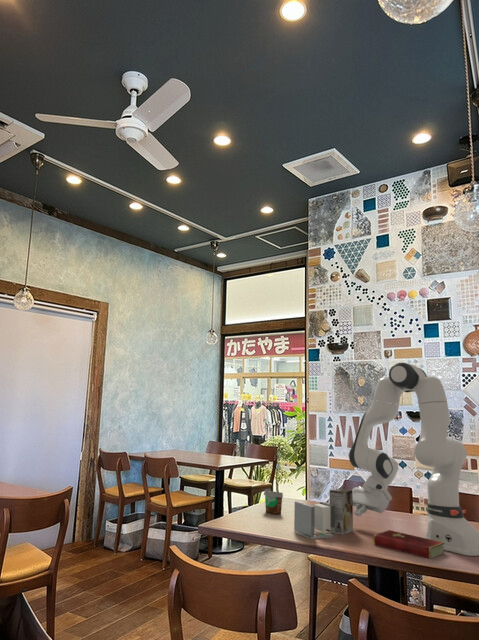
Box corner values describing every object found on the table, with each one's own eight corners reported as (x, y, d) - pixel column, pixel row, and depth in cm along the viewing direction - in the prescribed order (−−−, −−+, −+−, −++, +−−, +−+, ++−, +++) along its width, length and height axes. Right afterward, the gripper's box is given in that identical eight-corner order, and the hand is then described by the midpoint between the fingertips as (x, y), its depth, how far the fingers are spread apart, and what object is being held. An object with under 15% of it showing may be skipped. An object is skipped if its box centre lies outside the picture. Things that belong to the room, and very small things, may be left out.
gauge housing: (333, 536, 175) (333, 505, 178) (311, 539, 171) (311, 506, 173) (315, 530, 185) (315, 500, 187) (294, 532, 180) (294, 501, 183)
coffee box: (338, 528, 190) (338, 488, 193) (353, 531, 186) (353, 490, 189) (329, 532, 183) (329, 490, 186) (343, 535, 179) (343, 492, 182)
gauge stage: (336, 531, 177) (336, 506, 179) (325, 532, 175) (325, 506, 177) (321, 526, 185) (322, 502, 187) (311, 527, 183) (311, 502, 185)
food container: (258, 510, 219) (259, 488, 221) (269, 510, 222) (270, 488, 224) (271, 516, 208) (271, 493, 210) (282, 515, 211) (283, 492, 213)
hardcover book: (430, 560, 152) (430, 547, 153) (373, 546, 167) (373, 533, 168) (445, 554, 160) (444, 541, 161) (389, 541, 175) (389, 529, 176)
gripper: (353, 480, 204) (336, 504, 198) (387, 487, 187) (369, 514, 180) (360, 490, 205) (344, 514, 199) (395, 498, 188) (378, 525, 181)
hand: (356, 514), depth 189 cm, fingers closed
